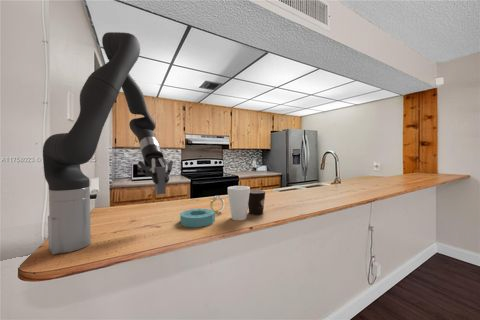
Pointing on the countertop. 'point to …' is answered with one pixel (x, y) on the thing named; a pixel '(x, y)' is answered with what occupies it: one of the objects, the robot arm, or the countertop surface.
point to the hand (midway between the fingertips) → (162, 182)
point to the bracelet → (215, 200)
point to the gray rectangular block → (160, 181)
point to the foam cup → (238, 201)
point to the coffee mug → (256, 202)
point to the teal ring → (197, 217)
